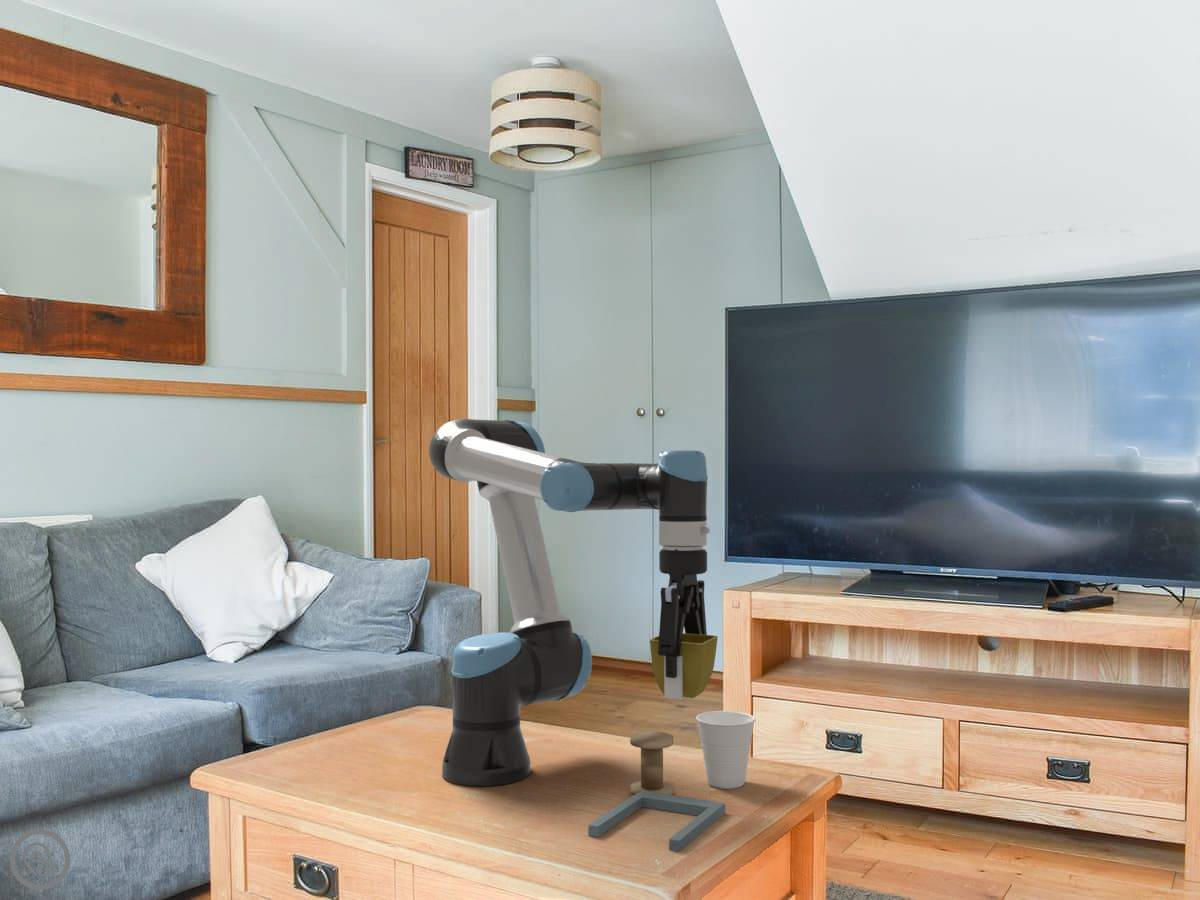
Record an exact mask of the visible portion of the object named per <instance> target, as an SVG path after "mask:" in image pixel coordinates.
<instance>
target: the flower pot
mask: <svg viewBox="0 0 1200 900" xmlns="http://www.w3.org/2000/svg"><path fill="white" fill-rule="evenodd" d="M718 637H719V636H718V635H712V634H707V635H702V634H688V633H685V632H683V636H682V642H681V649H680V655H679V656H682V667H683V698H688V699H695V698H696V697H698V696H699V695H700V694H703V692H704V691H705V690H706V687H707V686H708V684H709V682H710V680H711V678H712V674H713V671H714V667H715V661H716V656H717V655H716V653H717V646H718ZM658 645H659V635H657V636H655V637H652V638H650V639H649V646H650V647H649V649H650V656H651V657H650V658H651V667H652V672H653V673H652V674H653V676H654V679H655V682H656V684H657V686H658V688H659V689H660V691H661V693H662V695H664V656H663V655H658ZM669 646H670V645H669Z"/></svg>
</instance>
